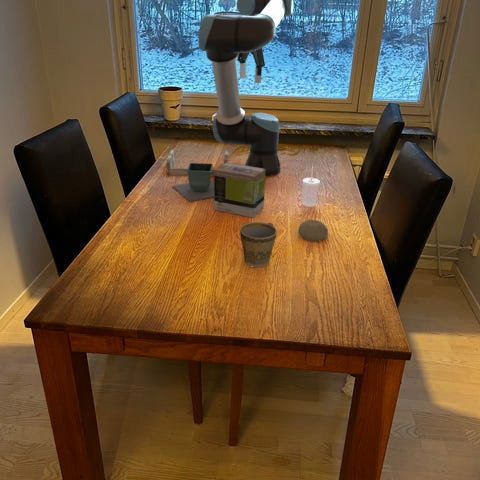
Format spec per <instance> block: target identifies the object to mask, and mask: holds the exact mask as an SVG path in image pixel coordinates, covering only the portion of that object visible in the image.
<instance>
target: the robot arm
mask: <svg viewBox="0 0 480 480" xmlns="http://www.w3.org/2000/svg"><path fill="white" fill-rule="evenodd" d="M236 9H237V12H239V13H240V14H241V15H239V14H237V15H236V14H235V15H234V14H218V13H215V14H211V13H209V14H206V15H204V16H203V17H202V19H201V22H200V24H199V31H198V39H197V40H198V42H197V43H198V48H199V50H201V51H203V52H205V53H206V58H207V59H208V60H209V61H210V62H211V65H212V70H213V78H214V79H213V80H214V85H215V93H216V97H217V98H216V99H217V105H218V110H217V112H216V114H215V115H214V117H213V121H212V126H213V127H212V132H213V136H214V137H215V140H216V141H217V142H219V143H224V144H233V145H234V144H235V145H245V146H249V153H248V155H247V158H246V161H245V164H244V165H245V166H251V167H257V168H264V169H266V170H265V177H270V176H275V175H278V174H280V173H281V163H280V159H279V154H278V149H279V148H278V147H279V138H280V137H279V134H280V120H279V118H277V116H275V115H272V114H269V113H265V112H252V114H251V115H250V116H249V115H246V114H245V113H246V112H245V110H244V109H243V108H242V107H241V101H240V93H239V92H240V91H239V89H240V88H239V81H238V71H237V62H238V63H239V79H246V78H247V77H246V74H247V72H246V71H247V62H246V61H247V59H248V57H249V55H250V54H251V55H252V57H253V59H254V63H255V65H256V66H255V70H254V71H255V72H254V73H255V74H254V84H261V82H262V69H263V68H264V67H265V66H266V62H265V58H264V51H263V48H264V47H266V46H267V45H268V44H269V43H270V42H271V41H272V40H273V38H274V37H275V35H276V31H277V27H278V25H279V24H280V22H281V20H282V19H283V18H287V17H291V16H292V15H293V12H294V0H236ZM236 59H237V61H236Z"/></svg>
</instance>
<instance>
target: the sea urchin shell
mask: <svg viewBox="0 0 480 480" xmlns="http://www.w3.org/2000/svg"><path fill="white" fill-rule="evenodd" d="M297 233H298V235H299V237H301V238H303V239H304V240H307V241H310V242H319V241H323V240H325V239H326V238H327V237H328V235H329V229H328V227H327V226H326V225H325V224H324V223H323V222H322V221H320V220H317V219H307V220H304V221H303V222H301V224H300V225H299V227H298V230H297Z"/></svg>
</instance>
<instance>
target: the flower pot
mask: <svg viewBox="0 0 480 480" xmlns="http://www.w3.org/2000/svg"><path fill="white" fill-rule="evenodd" d="M213 166H214V164H213V163H204V162H202V163H199V162H190V163H189V164H188V170H187V172H188V175H187V177H188V178H187V179H188V183H189V184H190V187H191V188H192V190H193V191H201V192H206V191H207V190H208V188H209V186H210V182H211V181H212V177H213V176H212V169H214V167H213Z"/></svg>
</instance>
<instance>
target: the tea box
mask: <svg viewBox="0 0 480 480" xmlns="http://www.w3.org/2000/svg"><path fill="white" fill-rule="evenodd" d="M214 169H215V170H214V176H213V180H214V181H213V182H214V198H213V200H214V201H213V205H214V206H213V207H214V210H215V211H220V212H224V213H230V214H234V215H238V216H244V217H247V218H252V219H253V218H254V217H256V216H257V215H258V214H259V213H260V212H261V211H263V209H264V205H265V194H266V193H265V191H266V190H265V189H266V186H265V185H266V176H265V170H266V169H264V168H257V167H251V166H245V164H240V163H239V164H238V163H231V162H228V163H225V164H224V163H223V164H222V165H220V166H219V167H217V168H214Z"/></svg>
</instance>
